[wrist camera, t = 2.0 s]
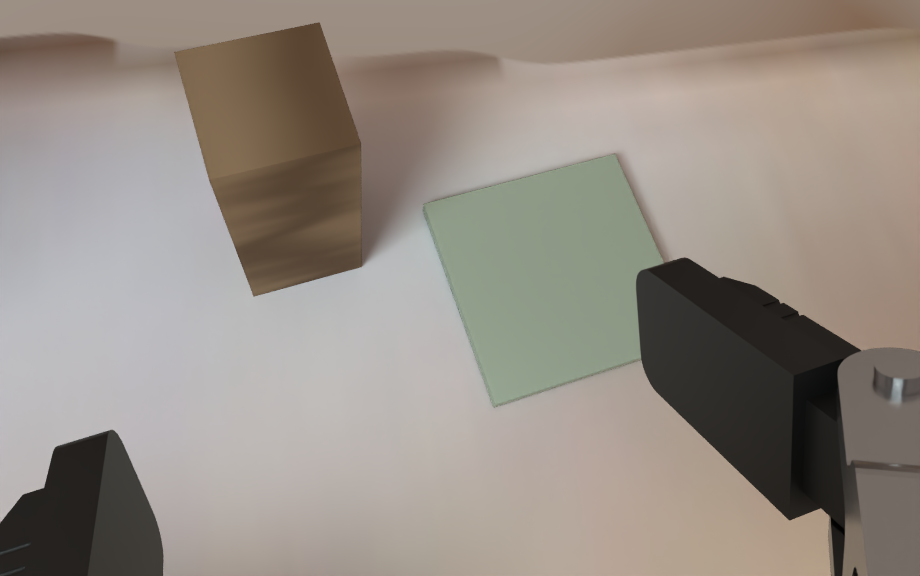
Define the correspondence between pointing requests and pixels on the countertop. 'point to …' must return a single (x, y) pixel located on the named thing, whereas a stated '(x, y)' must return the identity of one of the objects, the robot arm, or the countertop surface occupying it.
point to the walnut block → (279, 153)
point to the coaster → (546, 274)
